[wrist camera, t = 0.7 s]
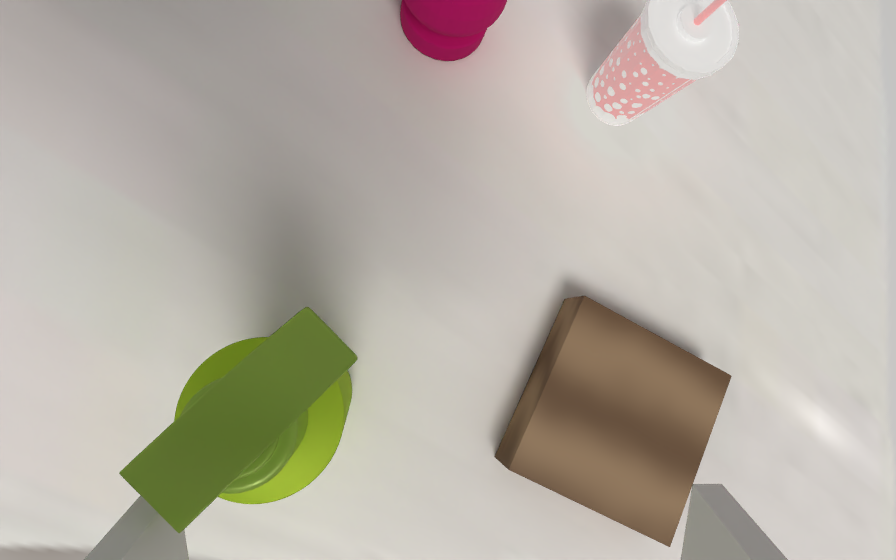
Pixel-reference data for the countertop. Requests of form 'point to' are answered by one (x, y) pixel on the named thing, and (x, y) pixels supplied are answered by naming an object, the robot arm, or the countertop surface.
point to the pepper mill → (448, 25)
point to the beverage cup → (662, 56)
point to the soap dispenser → (250, 423)
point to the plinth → (615, 419)
